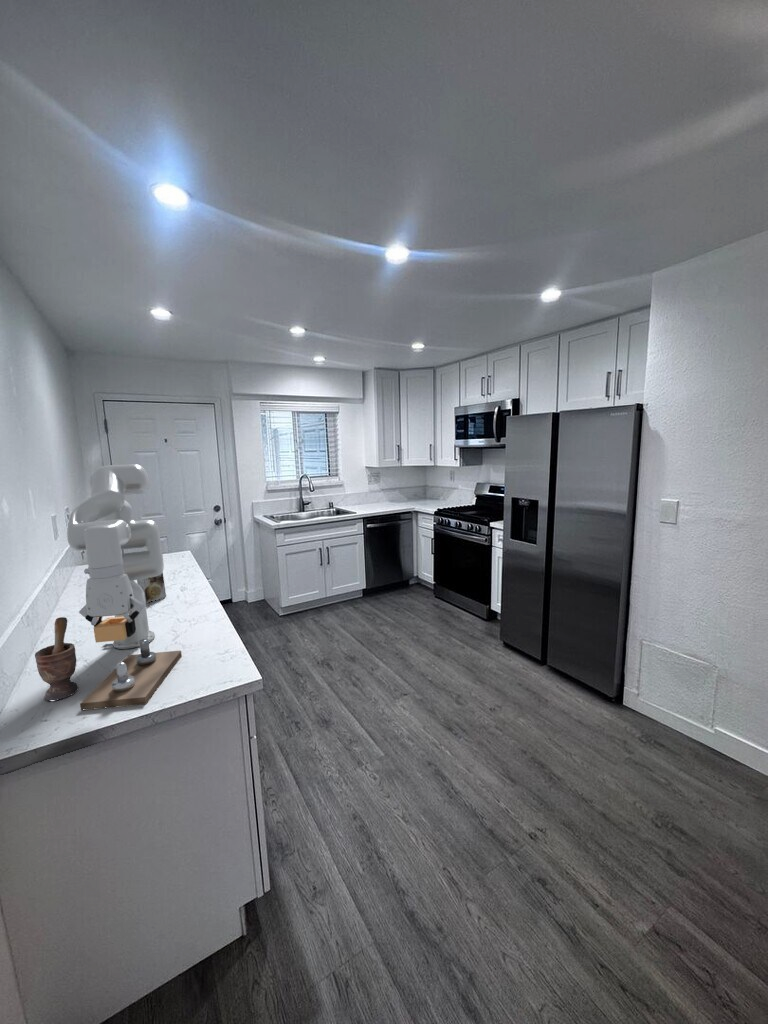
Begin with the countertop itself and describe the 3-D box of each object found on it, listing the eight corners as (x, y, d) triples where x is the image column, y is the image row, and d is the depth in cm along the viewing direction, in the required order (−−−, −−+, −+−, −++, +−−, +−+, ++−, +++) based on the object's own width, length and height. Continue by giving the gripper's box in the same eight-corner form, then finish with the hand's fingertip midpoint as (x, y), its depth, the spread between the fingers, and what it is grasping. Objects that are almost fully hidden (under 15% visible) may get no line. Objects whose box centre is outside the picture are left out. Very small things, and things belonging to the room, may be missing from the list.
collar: (95, 642, 109) (93, 627, 109) (109, 631, 116) (107, 617, 115) (123, 640, 110) (121, 625, 109) (135, 629, 117) (133, 615, 116)
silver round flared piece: (109, 693, 113) (105, 668, 112) (118, 683, 118) (115, 659, 117) (129, 691, 113) (126, 666, 112) (138, 681, 118) (135, 657, 117)
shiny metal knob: (133, 667, 126) (130, 645, 125) (141, 658, 132) (138, 637, 131) (151, 665, 127) (148, 643, 126) (159, 657, 132) (156, 636, 131)
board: (81, 710, 109) (79, 703, 109) (129, 661, 135) (128, 655, 134) (146, 704, 111) (145, 696, 110) (181, 656, 136) (180, 650, 136)
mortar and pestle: (43, 688, 121) (31, 622, 118) (79, 677, 126) (69, 613, 123) (42, 706, 112) (29, 635, 109) (82, 693, 117) (71, 625, 114)
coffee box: (159, 595, 197) (155, 561, 195) (166, 597, 194) (162, 563, 191) (139, 601, 190) (134, 566, 188) (146, 604, 186) (141, 568, 184)
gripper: (62, 578, 106) (73, 645, 108) (135, 572, 108) (144, 639, 110) (80, 570, 113) (89, 633, 116) (148, 565, 115) (156, 627, 118)
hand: (116, 635), depth 113 cm, fingers closed on collar, 6 cm apart
